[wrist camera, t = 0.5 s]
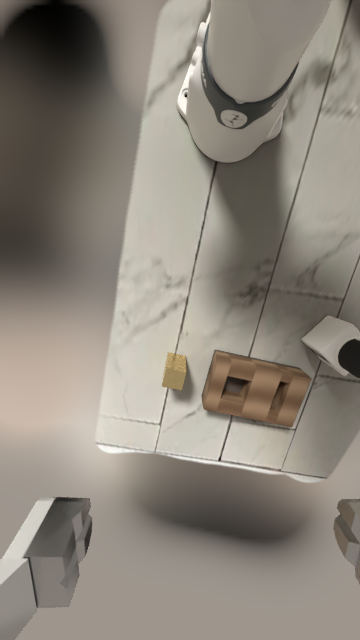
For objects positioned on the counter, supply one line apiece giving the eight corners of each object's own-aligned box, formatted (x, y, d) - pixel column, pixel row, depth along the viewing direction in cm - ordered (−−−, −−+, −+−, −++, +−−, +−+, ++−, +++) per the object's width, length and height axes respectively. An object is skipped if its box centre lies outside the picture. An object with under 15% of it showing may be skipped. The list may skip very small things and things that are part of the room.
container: (322, 361, 53) (366, 392, 41) (299, 339, 52) (338, 364, 39) (349, 337, 52) (404, 361, 39) (327, 314, 51) (376, 331, 38)
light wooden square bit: (168, 352, 53) (166, 368, 45) (185, 356, 53) (186, 372, 45) (164, 368, 54) (161, 386, 46) (181, 371, 54) (181, 390, 46)
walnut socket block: (214, 349, 52) (218, 358, 48) (299, 368, 54) (311, 378, 49) (201, 396, 55) (203, 409, 50) (282, 412, 56) (291, 427, 52)
